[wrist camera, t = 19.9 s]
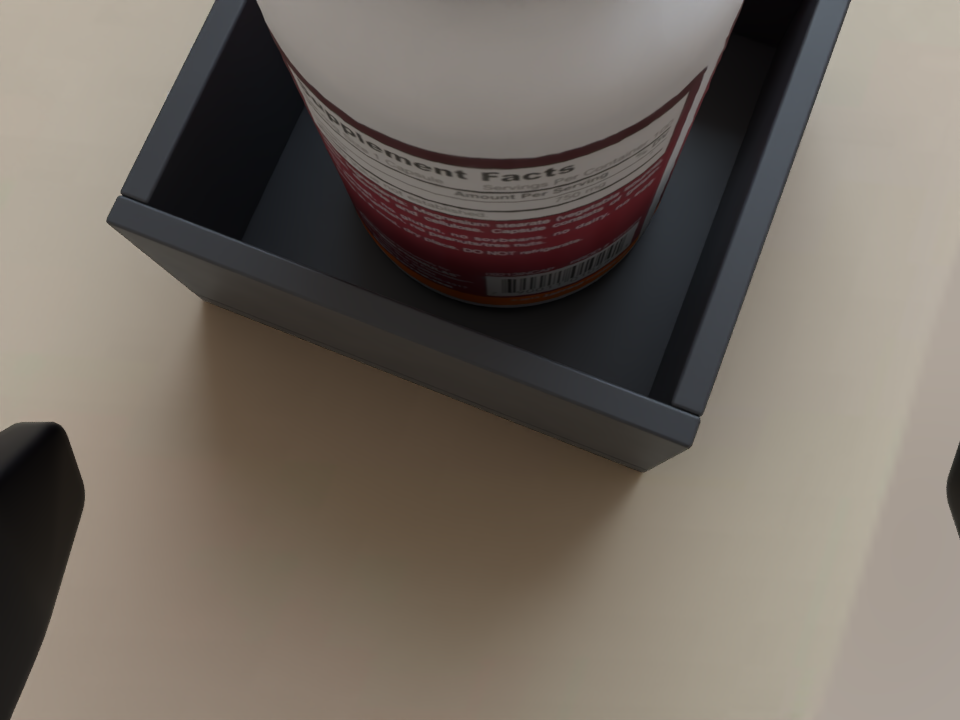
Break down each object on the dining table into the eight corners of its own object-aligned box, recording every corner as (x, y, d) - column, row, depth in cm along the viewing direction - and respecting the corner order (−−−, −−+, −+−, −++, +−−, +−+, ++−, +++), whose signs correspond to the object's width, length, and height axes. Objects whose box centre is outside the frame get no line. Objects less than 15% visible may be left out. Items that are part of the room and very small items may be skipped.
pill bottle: (450, -23, 19) (376, -748, 8) (715, 111, 18) (1005, -499, 8) (291, 223, 18) (-23, -243, 8) (564, 375, 18) (651, 102, 7)
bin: (644, 473, 18) (691, 449, 13) (201, 300, 19) (103, 221, 14) (798, 51, 19) (886, -98, 15) (383, -89, 20) (348, -271, 16)
